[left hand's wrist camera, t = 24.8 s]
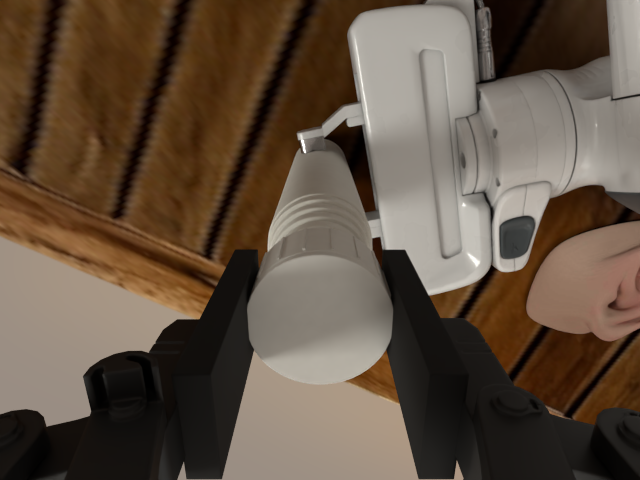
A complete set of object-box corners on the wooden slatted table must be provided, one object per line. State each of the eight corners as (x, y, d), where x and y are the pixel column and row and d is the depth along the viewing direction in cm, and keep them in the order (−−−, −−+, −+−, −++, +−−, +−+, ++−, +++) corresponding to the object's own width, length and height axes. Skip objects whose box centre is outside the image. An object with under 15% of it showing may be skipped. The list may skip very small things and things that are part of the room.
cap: (408, 258, 14) (425, 291, 12) (349, 358, 16) (354, 405, 13) (287, 203, 13) (280, 227, 11) (237, 313, 15) (221, 355, 13)
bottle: (345, 137, 36) (395, 238, 12) (347, 189, 37) (394, 370, 14) (291, 140, 36) (236, 246, 12) (295, 192, 37) (254, 376, 14)
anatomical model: (542, 361, 39) (554, 245, 35) (522, 337, 42) (532, 229, 38) (690, 349, 38) (720, 231, 34) (657, 326, 42) (680, 216, 38)
